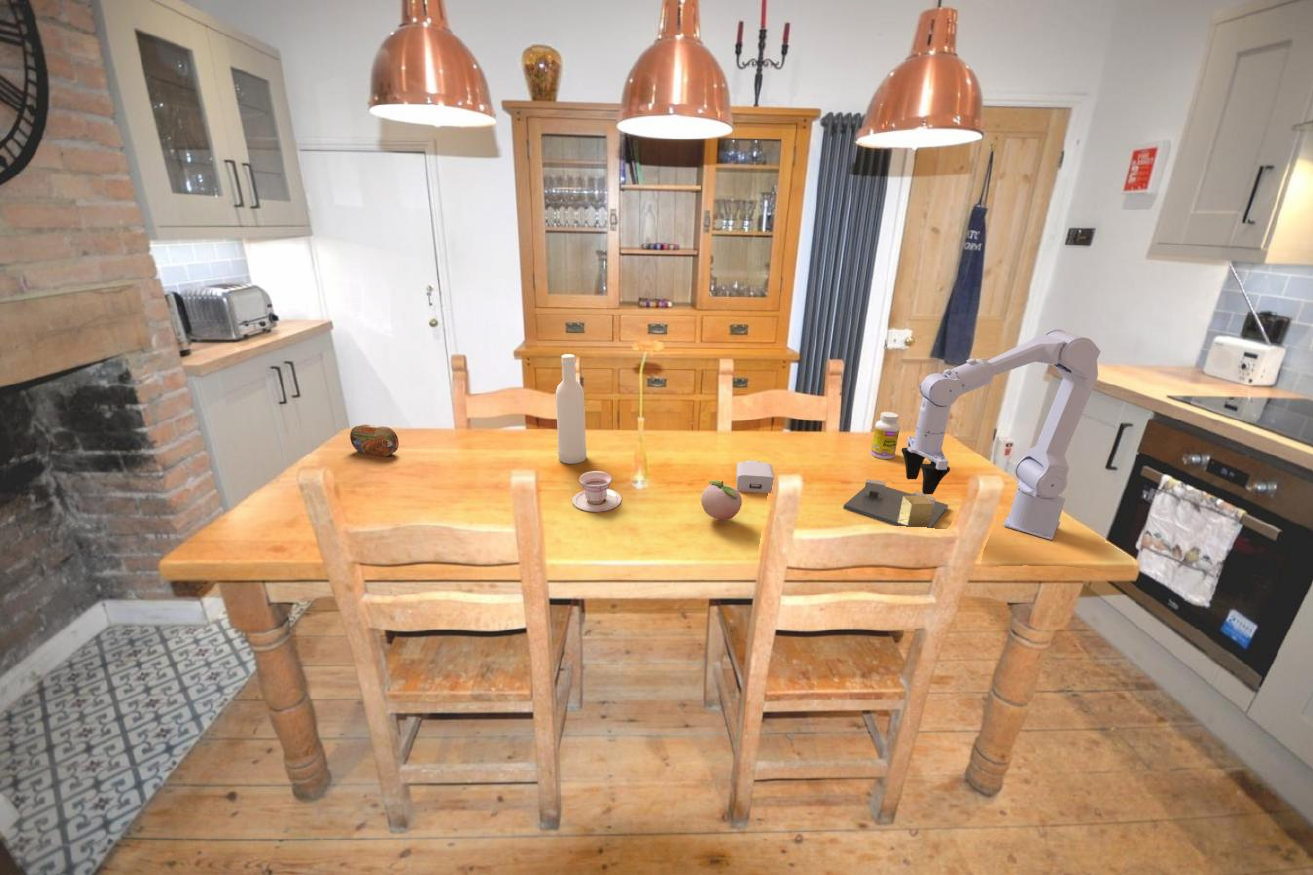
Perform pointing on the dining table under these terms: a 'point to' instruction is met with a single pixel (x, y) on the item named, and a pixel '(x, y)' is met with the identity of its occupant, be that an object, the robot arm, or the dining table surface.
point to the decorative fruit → (721, 501)
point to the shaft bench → (889, 504)
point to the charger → (754, 477)
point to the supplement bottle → (885, 436)
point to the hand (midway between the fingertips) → (919, 486)
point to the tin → (374, 440)
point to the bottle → (570, 415)
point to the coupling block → (916, 509)
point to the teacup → (596, 492)
